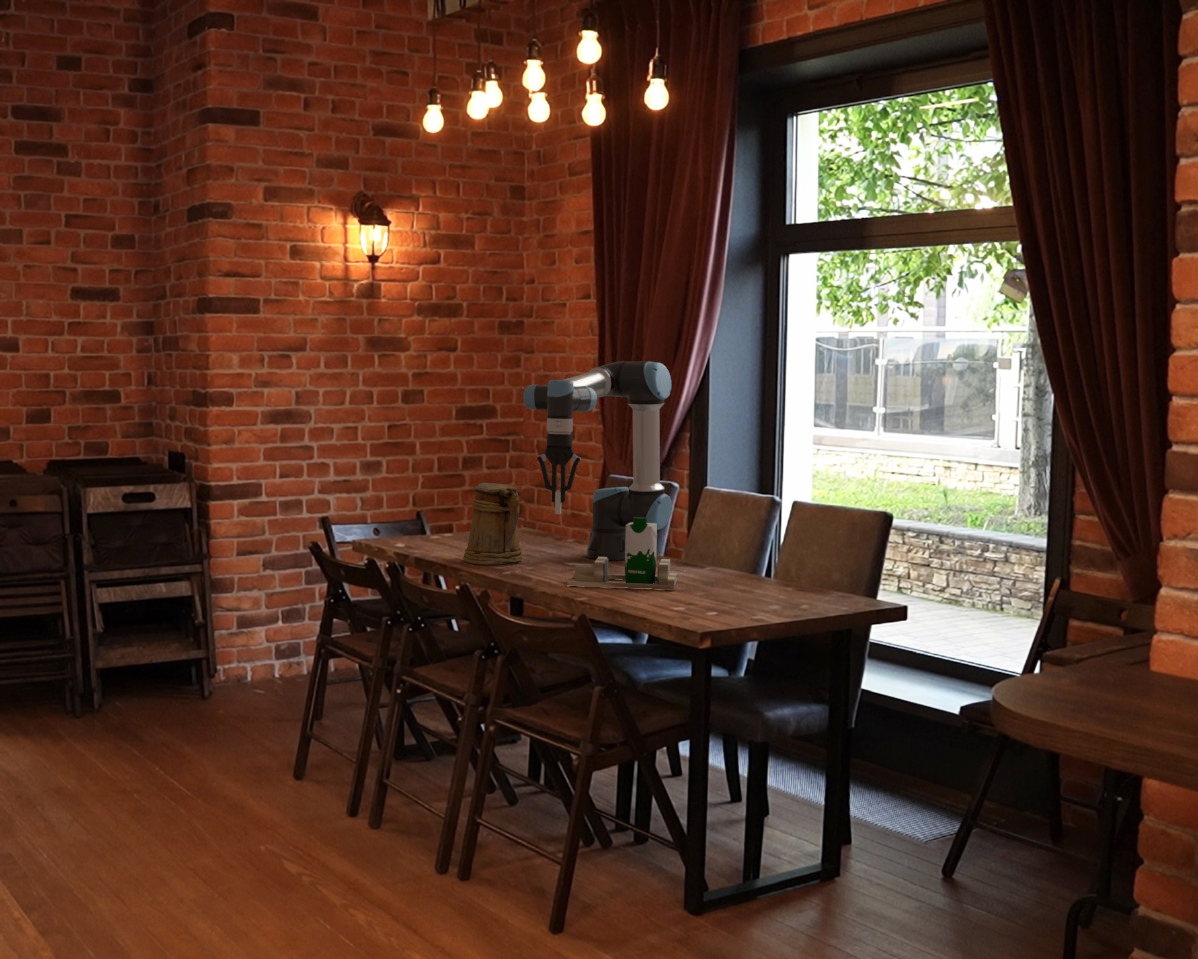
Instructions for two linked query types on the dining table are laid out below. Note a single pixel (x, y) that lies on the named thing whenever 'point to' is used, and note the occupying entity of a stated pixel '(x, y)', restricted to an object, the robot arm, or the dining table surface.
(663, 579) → the vise bed
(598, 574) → the sliding jaw
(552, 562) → the dining table surface
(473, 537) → the tankard
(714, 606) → the dining table surface
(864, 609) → the dining table surface
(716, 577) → the dining table surface
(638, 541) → the soya milk
